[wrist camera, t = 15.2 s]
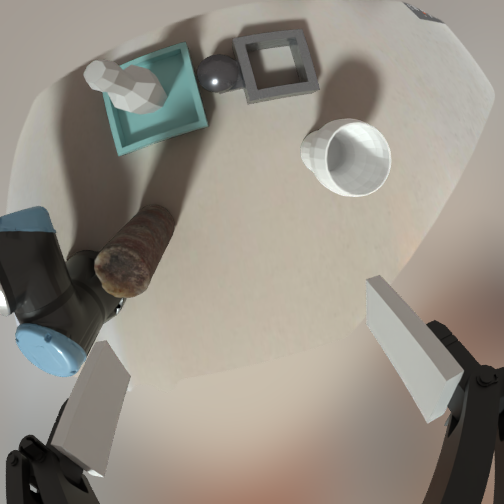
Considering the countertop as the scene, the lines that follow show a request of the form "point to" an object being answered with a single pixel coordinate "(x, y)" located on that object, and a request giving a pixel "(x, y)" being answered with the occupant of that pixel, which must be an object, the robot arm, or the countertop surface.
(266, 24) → the countertop surface
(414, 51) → the countertop surface
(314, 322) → the countertop surface
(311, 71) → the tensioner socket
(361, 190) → the cup
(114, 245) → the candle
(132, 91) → the grey faceted bottle
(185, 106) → the tray
